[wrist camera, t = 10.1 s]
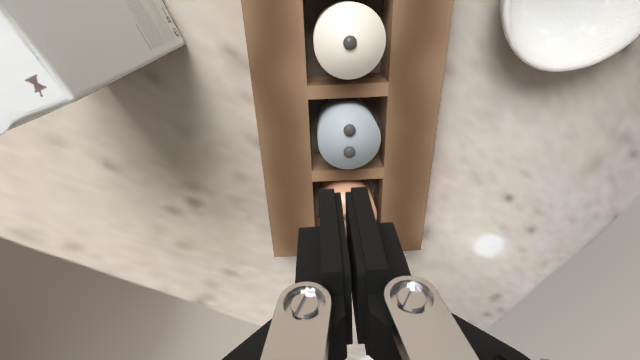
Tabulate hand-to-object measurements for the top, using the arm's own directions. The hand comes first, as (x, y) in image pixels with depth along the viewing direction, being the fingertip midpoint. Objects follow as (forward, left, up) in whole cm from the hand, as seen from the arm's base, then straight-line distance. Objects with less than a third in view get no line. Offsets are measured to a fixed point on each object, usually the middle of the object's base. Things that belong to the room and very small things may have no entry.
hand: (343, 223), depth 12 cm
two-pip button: (-2, +3, -19) cm, 19 cm away
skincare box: (+15, -5, -19) cm, 25 cm away
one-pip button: (-2, -4, -19) cm, 19 cm away
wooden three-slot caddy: (-2, +3, -19) cm, 19 cm away
